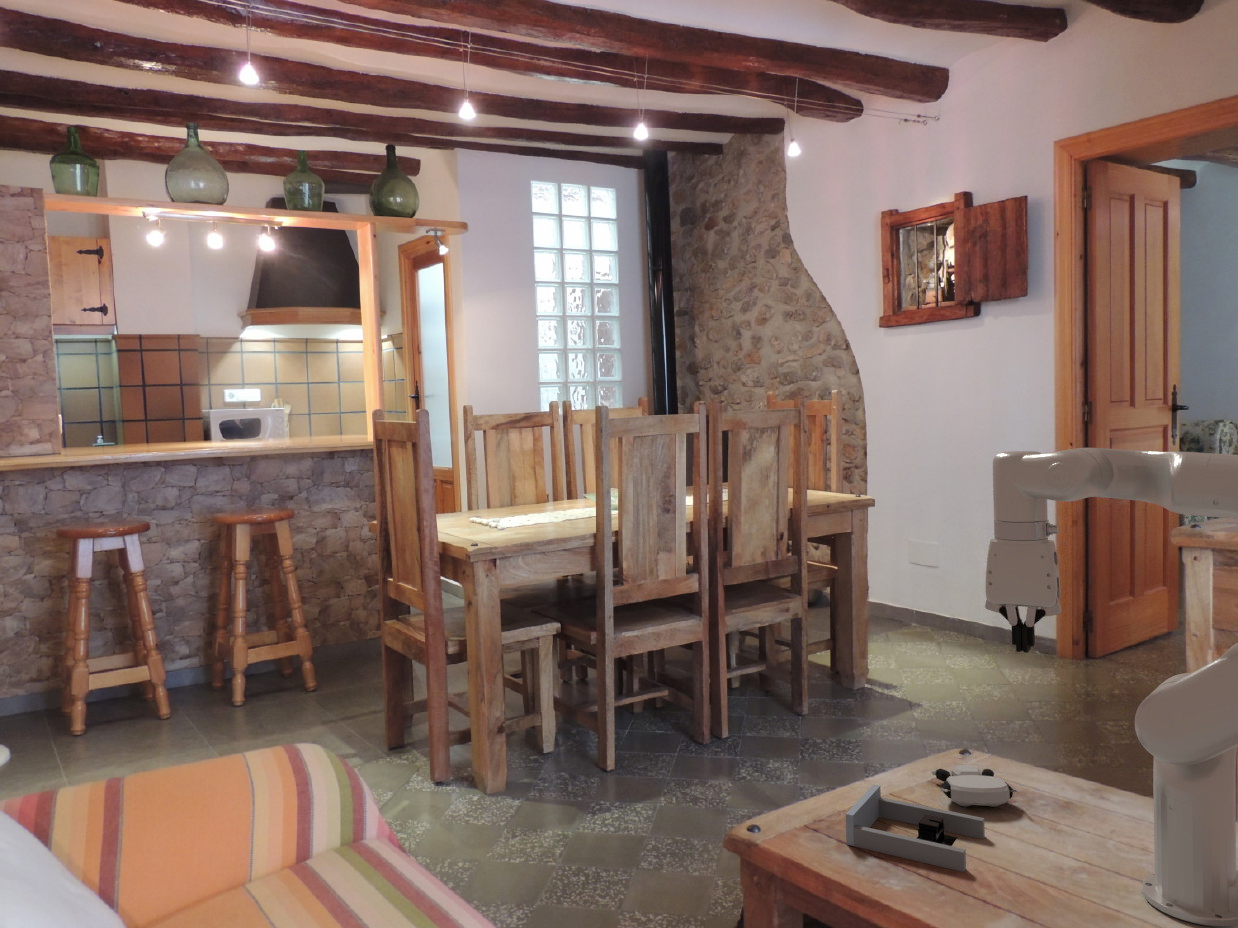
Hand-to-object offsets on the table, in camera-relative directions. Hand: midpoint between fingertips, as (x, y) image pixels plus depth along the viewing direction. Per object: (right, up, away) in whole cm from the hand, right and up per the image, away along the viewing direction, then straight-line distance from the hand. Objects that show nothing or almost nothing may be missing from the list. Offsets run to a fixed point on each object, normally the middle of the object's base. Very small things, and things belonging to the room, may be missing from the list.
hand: (1023, 649), depth 138 cm
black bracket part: (-12, -33, +5) cm, 36 cm away
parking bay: (-14, -32, +7) cm, 36 cm away
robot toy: (+1, -32, +23) cm, 39 cm away
